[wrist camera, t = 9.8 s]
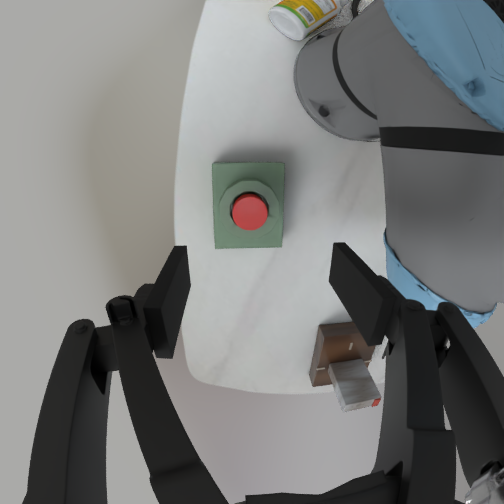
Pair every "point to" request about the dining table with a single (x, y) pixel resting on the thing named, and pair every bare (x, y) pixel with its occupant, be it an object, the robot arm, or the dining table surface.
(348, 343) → the tap panel
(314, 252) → the dining table surface
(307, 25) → the supplement bottle
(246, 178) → the button box
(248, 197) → the button
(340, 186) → the dining table surface
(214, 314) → the dining table surface
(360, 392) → the gray rectangular block
